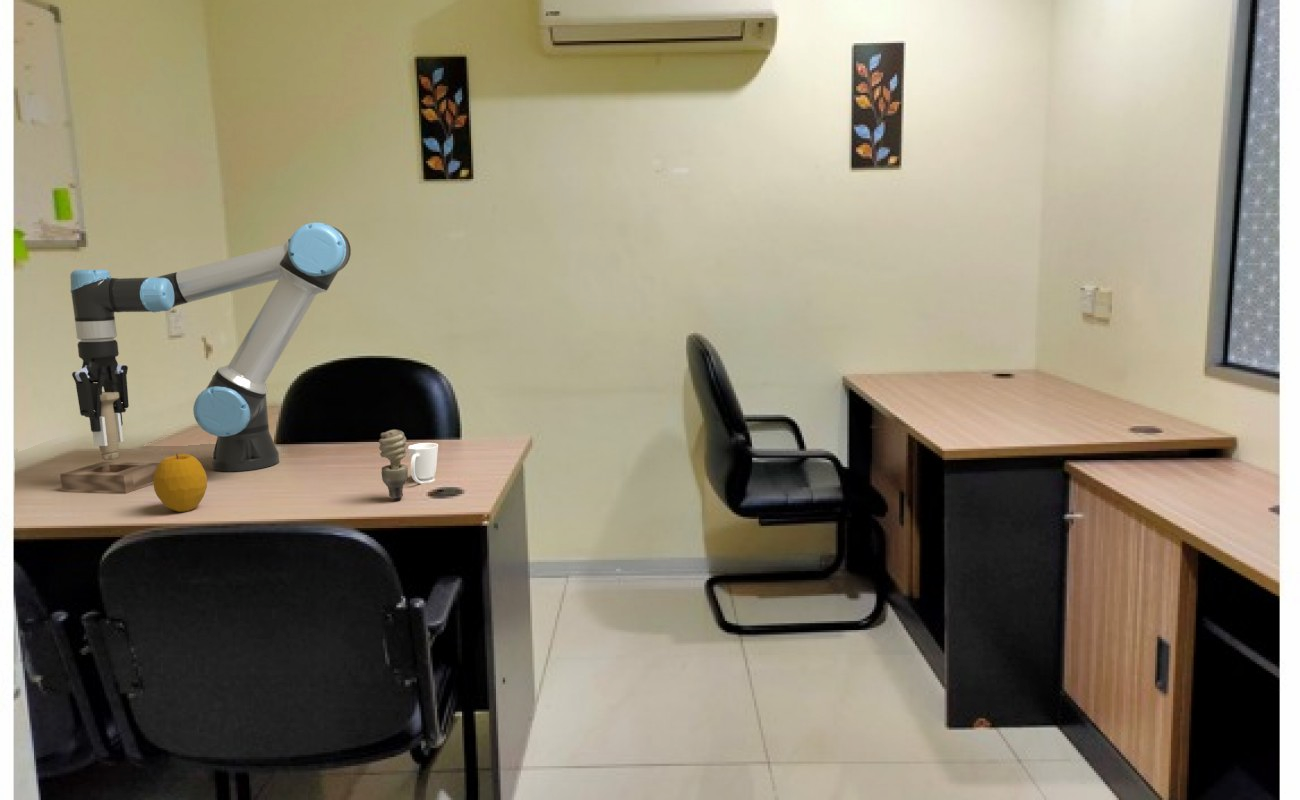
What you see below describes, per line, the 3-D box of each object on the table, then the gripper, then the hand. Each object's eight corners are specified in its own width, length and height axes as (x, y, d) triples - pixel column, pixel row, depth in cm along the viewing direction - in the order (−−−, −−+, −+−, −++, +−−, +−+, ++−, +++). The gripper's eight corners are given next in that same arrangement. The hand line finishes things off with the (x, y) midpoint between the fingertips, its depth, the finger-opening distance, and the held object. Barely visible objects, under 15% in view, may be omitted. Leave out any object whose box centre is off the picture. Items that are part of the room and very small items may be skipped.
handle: (112, 461, 194) (105, 395, 192) (89, 460, 196) (82, 394, 193) (130, 457, 199) (123, 392, 196) (108, 455, 200) (100, 391, 198)
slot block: (164, 479, 203) (163, 463, 202) (125, 493, 191) (123, 475, 190) (104, 478, 205) (102, 461, 205) (62, 491, 194) (60, 474, 193)
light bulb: (413, 501, 180) (409, 430, 178) (387, 505, 177) (382, 433, 175) (405, 495, 185) (400, 426, 183) (379, 499, 182) (374, 429, 180)
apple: (171, 503, 182) (165, 448, 180) (218, 502, 183) (213, 447, 181) (147, 517, 172) (140, 459, 171) (197, 515, 173) (191, 457, 171)
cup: (446, 477, 200) (444, 442, 199) (428, 488, 190) (426, 452, 189) (417, 476, 201) (414, 442, 200) (398, 487, 192) (396, 451, 190)
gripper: (111, 336, 202) (122, 435, 206) (50, 343, 185) (63, 451, 189) (140, 336, 201) (151, 436, 204) (81, 343, 184) (93, 451, 188)
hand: (109, 443), depth 197 cm, fingers closed on handle, 4 cm apart
